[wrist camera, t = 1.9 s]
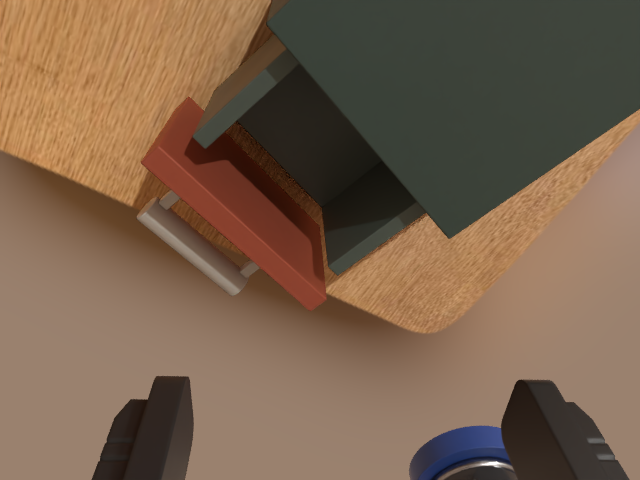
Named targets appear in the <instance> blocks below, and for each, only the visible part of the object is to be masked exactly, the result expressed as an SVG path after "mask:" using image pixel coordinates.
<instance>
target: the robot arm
mask: <svg viewBox="0 0 640 480" xmlns="http://www.w3.org/2000/svg"><path fill="white" fill-rule="evenodd" d="M193 424H194V423H193V409H192V399H191V389H190V380H189V377H179V376H176V377H175V376H157V377H156V378H155V380H154V382H153V385H152V388H151V391H150V394H149V398H148V400H137V399H136V400H135V399H133V400H132V399H131V400H130V401H129V402H128V403H127V404H126V405H125V407H124V408H123V409H122V410H121V411H120V412H119V413H118V415H117V416H116V417H115V418H114V421H113V424H112V427H111V429H110V432H109V434H108V437H107V443H106V444H105V445H104V448H103V451H102V453H101V456H100V461H99V462H98V464H97V467H96V470H95V472H94V475H93V478H92V480H185V476H186V471H187V466H188V461H189V456H190V451H191V446H192V438H193ZM501 435H502V441H503V444H504V447H505V450H506V452H507V455H508V457H509V460H510V461H509V460H506V459H503V458H499V457H489V456H484V457H474V458H468V459H464V460H461V461H458V462H456V463H453V464H451V465H449V466H447V467H445V468H444V469H442V470H441V471H440V472H438V473H437V474H436V475H435V476H434V477H433V478H432V480H629V478H628V477H627V475H626V473H625V472H624V470H623V468H622V467H621V465H620V464H619V462H618V460H615V455H614V454H613V452H612V451H611V449H610V447H609V446H608V444H606V443H605V439H604V437H603V436H602V434H601V433H600V431H599V429H598V428H597V426H596V425H595V423H594V421H593V420H592V419H591V418H590V417H589V416H588V415H587V414H586V413H585V412H584V411H582V410H581V409H580V408H579V407H578V406H577V405H576V404H575V403H574V402H565V400H564V399H563V397H562V395H561V393H560V392H559V390H558V388H557V387H556V385H555V384H554V383H553V382H552V381H550V380H518V381H517V382H516V384H515V386H514V389H513V392H512V394H511V397H510V400H509V403H508V405H507V408H506V411H505V414H504V416H503V419H502V424H501Z"/></svg>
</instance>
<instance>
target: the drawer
mask: <svg viewBox="0 0 640 480" xmlns="http://www.w3.org/2000/svg"><path fill="white" fill-rule="evenodd" d="M236 121H238V122H239V123H240V125H241V126H242V127H243V128H244V129H245V130H246V131H247V132H248V133H249V134H250V135H251V136H252V137H253V138H254V139H255V140H256V141H257V142H258V143H259V144H260V145H261V146H262V147H263V148H264V149H265V150H266V151H267V152H268V153H269V154H270V155H271V156H272V157H273V158H274V159H275V160H276V161H277V162H278V163H279V164H280V165H281V166H282V167H283V168H284V170H285V171H286V172H287V173H288V174H289V175H290V176H291V177H292V178H293V179H294V180H295V181H296V182H297V183H298V184H299V185H300V186H301V187H302V188H303V189H304V190H305V191H306V192H307V193H308V194H309V195H310V196H311V197H312V198H313V199H314V200H315V201H316V202H317V203H318V204H319V205H320V206H321V207H322V215H323V225H324V234H325V243H326V252H327V262H328V267H329V268H330V269H331V270H332V271H333V272H334V273H335V274H336V275H339V274H341V273H342V272H344V271H345V270H346V269H348V268H349V267H351V266H352V265H353V264H355V263H356V262H358V261H359V260H360V259H362V258H363V257H365V256H366V255H367V254H369V253H370V252H371V251H373V250H374V249H376V248H377V247H378V246H380V245H381V244H383V243H384V242H385V241H387V240H388V239H390V238H391V237H392V236H394V235H395V234H397V233H398V232H399V231H401V230H402V229H404V228H405V227H406V226H408V225H409V224H411V223H412V222H413V221H415V220H416V219H418V218H419V217H420V216H422V215H423V214H425V213H426V212H425V211H424V209H423V208H422V207H421V206H420V205H419V203H418V202H417V201H416V200H415V199H414V198H413V196H412V195H411V194H410V193H409V192H408V191H407V189H406V188H405V187H404V186H403V185H402V184H401V182H400V181H399V180H398V179H397V178H396V176H395V175H394V174H393V173H392V172H391V171H390V169H389V168H388V167H387V166H386V165H385V164H384V162H383V161H382V160H381V159H380V158H379V157H378V155H377V154H376V153H375V152H374V151H373V149H372V148H371V147H370V146H369V145H368V144H367V142H366V141H365V140H364V139H363V138H362V137H361V135H360V134H359V133H358V132H357V131H356V130H355V128H354V127H353V126H352V125H351V124H350V122H349V121H348V120H347V119H346V118H345V117H344V115H343V114H342V113H341V112H340V111H339V110H338V108H337V107H336V106H335V105H334V104H333V103H332V101H331V100H330V99H329V98H328V97H327V95H326V94H325V93H324V92H323V91H322V90H321V88H320V87H319V86H318V85H317V84H316V83H315V81H314V80H313V79H312V78H311V77H310V75H309V74H308V73H307V72H306V71H305V70H304V68H303V67H302V66H301V65H300V64H299V63H298V61H297V60H296V59H295V58H294V57H293V56H292V54H291V53H290V52H289V51H288V50H287V48H286V47H285V46H284V45H283V44H282V43H281V41H280V40H279V39H278V38H277V37H276V36H275V34H274V35H273V36H272V37H271V38H269V39H268V40H267V41H266V42H265V43H264V44H263V45H262V46H261V47H260V48H259V49H258V50H257V51H256V52H255V53H254V54H253V55H252V56H251V57H250V58H248V59H247V60H246V61H245V62H244V63H243V64H242V65H241V66H240V67H239V68H238V69H237V70H236V71H235V72H234V73H233V74H232V75H231V76H230V77H229V78H227V79H226V80H225V81H224V82H223V83H222V84H221V85H220V86H219V87H218V88H217V89H216V90H215V91H214V93H213V95H212V97H211V99H210V101H209V103H208V105H207V107H206V109H205V111H203V110H202V109H201V108H200V107H199V106H198V105H197V104H196V103H195V102H194V101H193V100H192V99H191V98H190V97H188V98H187V99H186V100H185V101H184V102H183V103H181V104H180V105H179V106H178V107H177V108H176V109H175V111H174V112H173V114H172V115H171V117H170V118H169V120H168V121H167V123H166V124H165V126H164V128H163V129H162V131H161V132H160V134H159V135H158V137H157V138H156V140H155V141H154V143H153V144H152V146H151V147H150V149H149V150H148V152H147V153H146V155H145V157H144V158H143V160H142V161H141V164H142V165H144V166H145V167H146V168H147V169H148V170H149V171H150V172H152V173H153V174H154V175H155V176H156V177H157V178H158V179H160V180H161V181H162V182H163V183H164V184H165V185H166V186H168V187H169V188H170V189H171V190H170V191H168V192H167V193H166V194H165V195H164V196H163V197H162V198H161V199H159V198H158V197H154V198H153V199H151V200H150V201H149V202H148V203H147V204H146V205H145V206H144V207H143V208H142V210H141V211H140V212H139V214H138V215H137V220H138V221H140V222H141V223H142V224H143V225H145V226H146V227H147V228H148V229H150V230H151V231H152V232H153V233H154V234H156V235H157V236H158V237H160V238H161V239H162V240H163V241H164V242H165V243H167V244H168V245H169V246H170V247H172V248H173V249H174V250H175V251H177V252H178V253H179V254H180V255H181V256H183V257H184V258H185V259H186V260H188V261H189V262H190V263H192V264H193V265H194V266H195V267H196V268H197V269H199V270H200V271H201V272H202V273H204V274H205V275H206V276H207V277H208V278H210V279H211V280H212V281H213V282H215V283H216V284H217V285H218V286H220V287H221V288H222V289H223V290H224V291H226V292H227V293H228V294H230V295H231V296H234V295H236V294H238V293H239V292H240V291H241V290H242V289H243V288H244V287H245V285H246V284H247V282H248V279H249V276H250V275H251V274H253V273H254V272H255V271H256V270H258V269H259V268H261V269H262V270H263V271H265V272H266V273H267V274H268V275H269V276H270V277H271V278H273V279H274V280H275V281H276V282H277V283H278V284H279V285H281V286H282V287H283V288H284V289H285V290H286V291H287V292H288V293H290V294H291V295H292V296H293V297H294V298H295V299H297V300H298V301H299V302H300V303H301V304H302V305H303V306H304V307H306V308H307V309H308V310H309V311H311V310H313V309H314V308H316V307H317V306H319V305H320V304H321V303H323V302H324V301H326V299H327V298H326V288H325V277H324V266H323V256H322V245H321V235H320V226H319V225H318V224H317V223H316V222H315V221H314V220H313V219H312V218H311V217H310V216H309V215H308V214H307V213H306V212H305V211H304V210H303V209H302V208H301V207H300V206H299V205H298V204H297V203H295V202H294V201H293V200H292V199H291V198H290V197H289V196H288V195H287V194H286V193H285V192H284V191H283V190H282V189H281V188H280V187H279V186H278V185H277V184H276V183H275V182H274V181H273V180H272V179H271V178H270V177H269V176H268V175H267V174H266V173H265V172H264V171H263V170H262V169H261V168H260V167H259V166H258V165H257V164H256V163H255V162H254V161H253V160H252V159H251V158H250V157H249V156H248V155H247V154H246V153H245V152H244V151H243V150H242V149H241V148H240V147H239V146H238V145H237V144H236V143H235V142H234V141H233V140H232V139H231V138H230V137H229V136H228V135H227V134H226V133H225V131H226V130H227V129H228V128H229V127H231V126H232V125H233V124H234V123H235V122H236ZM180 198H181V199H182V200H184V201H185V202H186V203H187V204H188V205H189V206H190V207H191V208H193V209H194V210H195V211H196V212H197V213H198V214H199V215H201V216H202V217H203V218H204V219H205V220H206V221H207V222H209V223H210V224H211V225H212V226H213V227H214V228H215V229H217V230H218V231H219V232H220V233H221V234H222V235H223V236H225V237H226V238H227V239H228V240H229V241H230V242H231V243H233V244H234V245H235V246H236V247H237V248H238V249H239V250H241V251H242V252H243V253H244V254H245V255H246V256H247V257H249V258H250V260H249V261H247V262H246V263H245V264H243V265H242V266H241V267H239V266H237V265H236V264H235V263H234V262H233V261H232V260H230V259H229V258H228V257H227V256H226V255H224V254H223V253H222V252H221V251H220V250H219V249H218V248H216V247H215V246H214V245H213V244H212V243H211V242H209V241H208V240H207V239H206V238H205V237H204V236H202V235H201V234H200V233H199V232H198V231H197V230H195V229H194V228H193V227H192V226H191V225H190V224H188V223H187V222H186V221H185V220H184V219H183V218H181V217H180V216H179V215H178V214H177V213H176V212H174V211H173V210H172V209H171V208H170V207H171V206H172V205H174V204H175V203H176V202H177V201H178V200H179V199H180Z"/></svg>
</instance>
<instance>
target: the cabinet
mask: <svg viewBox="0 0 640 480" xmlns="http://www.w3.org/2000/svg"><path fill="white" fill-rule="evenodd" d="M266 25H267V26H268V27H269V29H270V30H271V31H272V32H273V33H274V34H275V36H276V37H277V38H278V39H279V40H280V41H281V43H282V44H283V45H284V46H285V47H286V48H287V50H288V51H289V52H290V53H291V54H292V56H293V57H294V58H295V59H296V60H297V61H298V63H299V64H300V65H301V66H302V67H303V68H304V70H305V71H306V72H307V73H308V74H309V75H310V77H311V78H312V79H313V80H314V81H315V83H316V84H317V85H318V86H319V87H320V88H321V90H322V91H323V92H324V93H325V94H326V95H327V97H328V98H329V99H330V100H331V101H332V103H333V104H334V105H335V106H336V107H337V108H338V110H339V111H340V112H341V113H342V114H343V115H344V117H345V118H346V119H347V120H348V121H349V122H350V124H351V125H352V126H353V127H354V128H355V130H356V131H357V132H358V133H359V134H360V135H361V137H362V138H363V139H364V140H365V141H366V142H367V144H368V145H369V146H370V147H371V148H372V149H373V151H374V152H375V153H376V154H377V155H378V157H379V158H380V159H381V160H382V161H383V162H384V164H385V165H386V166H387V167H388V168H389V169H390V171H391V172H392V173H393V174H394V175H395V176H396V178H397V179H398V180H399V181H400V182H401V184H402V185H403V186H404V187H405V188H406V189H407V191H408V192H409V193H410V194H411V195H412V196H413V198H414V199H415V200H416V201H417V202H418V203H419V205H420V206H421V207H422V208H423V209H424V211H425V212H426V213H427V214H428V215H429V216H430V218H431V219H432V220H433V221H434V222H435V223H436V225H437V226H438V227H439V228H440V229H441V230H442V232H443V233H444V234H445V235H446V236H447V238H449V239H450V238H452V237H453V236H455V235H456V234H458V233H459V232H461V231H462V230H463V229H465V228H466V227H468V226H469V225H471V224H472V223H474V222H475V221H477V220H478V219H480V218H481V217H482V216H484V215H485V214H487V213H488V212H490V211H491V210H493V209H494V208H496V207H497V206H499V205H500V204H501V203H503V202H504V201H506V200H507V199H509V198H510V197H512V196H513V195H515V194H516V193H518V192H519V191H520V190H522V189H523V188H525V187H526V186H528V185H529V184H531V183H532V182H534V181H535V180H537V179H538V178H539V177H541V176H542V175H544V174H545V173H547V172H548V171H550V170H551V169H553V168H554V167H556V166H557V165H558V164H560V163H561V162H563V161H564V160H566V159H567V158H569V157H570V156H572V155H573V154H575V153H576V152H577V151H579V150H580V149H582V148H583V147H585V146H586V145H588V144H589V143H591V142H592V141H594V140H595V139H596V138H598V137H599V136H601V135H602V134H604V133H605V132H607V131H608V130H610V129H611V128H613V127H614V126H615V125H617V124H618V123H620V122H621V121H623V120H624V119H626V118H627V117H629V116H630V115H632V114H633V113H634V112H636V111H637V110H639V109H640V0H272V4H271V8H270V11H269V15H268V18H267V22H266Z"/></svg>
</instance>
